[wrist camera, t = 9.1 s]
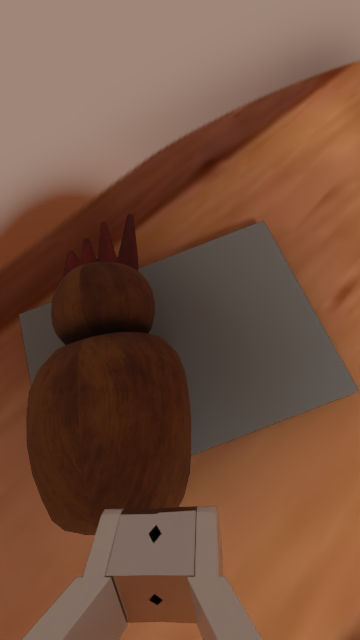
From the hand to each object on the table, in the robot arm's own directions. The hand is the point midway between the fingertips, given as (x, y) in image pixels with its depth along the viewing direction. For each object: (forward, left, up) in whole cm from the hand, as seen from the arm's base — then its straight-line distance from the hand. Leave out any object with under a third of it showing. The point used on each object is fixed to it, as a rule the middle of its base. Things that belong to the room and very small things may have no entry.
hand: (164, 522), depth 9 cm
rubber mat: (+7, -1, -8) cm, 11 cm away
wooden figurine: (0, +3, -5) cm, 5 cm away
